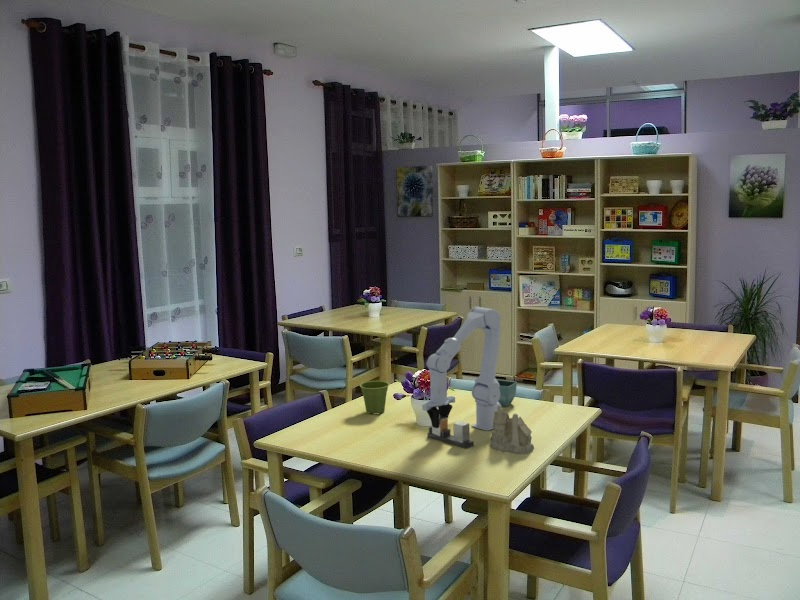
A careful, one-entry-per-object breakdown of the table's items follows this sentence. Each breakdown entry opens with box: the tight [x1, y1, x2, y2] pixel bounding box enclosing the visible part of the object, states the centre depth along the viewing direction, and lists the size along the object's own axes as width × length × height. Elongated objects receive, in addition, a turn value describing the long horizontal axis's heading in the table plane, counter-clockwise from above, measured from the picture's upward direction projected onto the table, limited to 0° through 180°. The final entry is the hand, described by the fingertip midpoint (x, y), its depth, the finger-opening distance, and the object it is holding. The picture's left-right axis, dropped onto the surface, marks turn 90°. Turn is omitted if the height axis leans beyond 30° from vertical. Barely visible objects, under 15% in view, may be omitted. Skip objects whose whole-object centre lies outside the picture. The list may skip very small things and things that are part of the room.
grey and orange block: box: [431, 415, 449, 436], centre depth 250 cm, size 4×4×6 cm
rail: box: [427, 420, 474, 449], centre depth 247 cm, size 18×4×8 cm, turn 43°
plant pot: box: [358, 380, 390, 414], centre depth 285 cm, size 12×12×11 cm
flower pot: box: [496, 379, 518, 407], centre depth 291 cm, size 9×9×9 cm
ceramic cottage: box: [489, 405, 535, 455], centre depth 242 cm, size 16×16×15 cm
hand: (439, 426), depth 251 cm, fingers closed on grey and orange block, 3 cm apart
